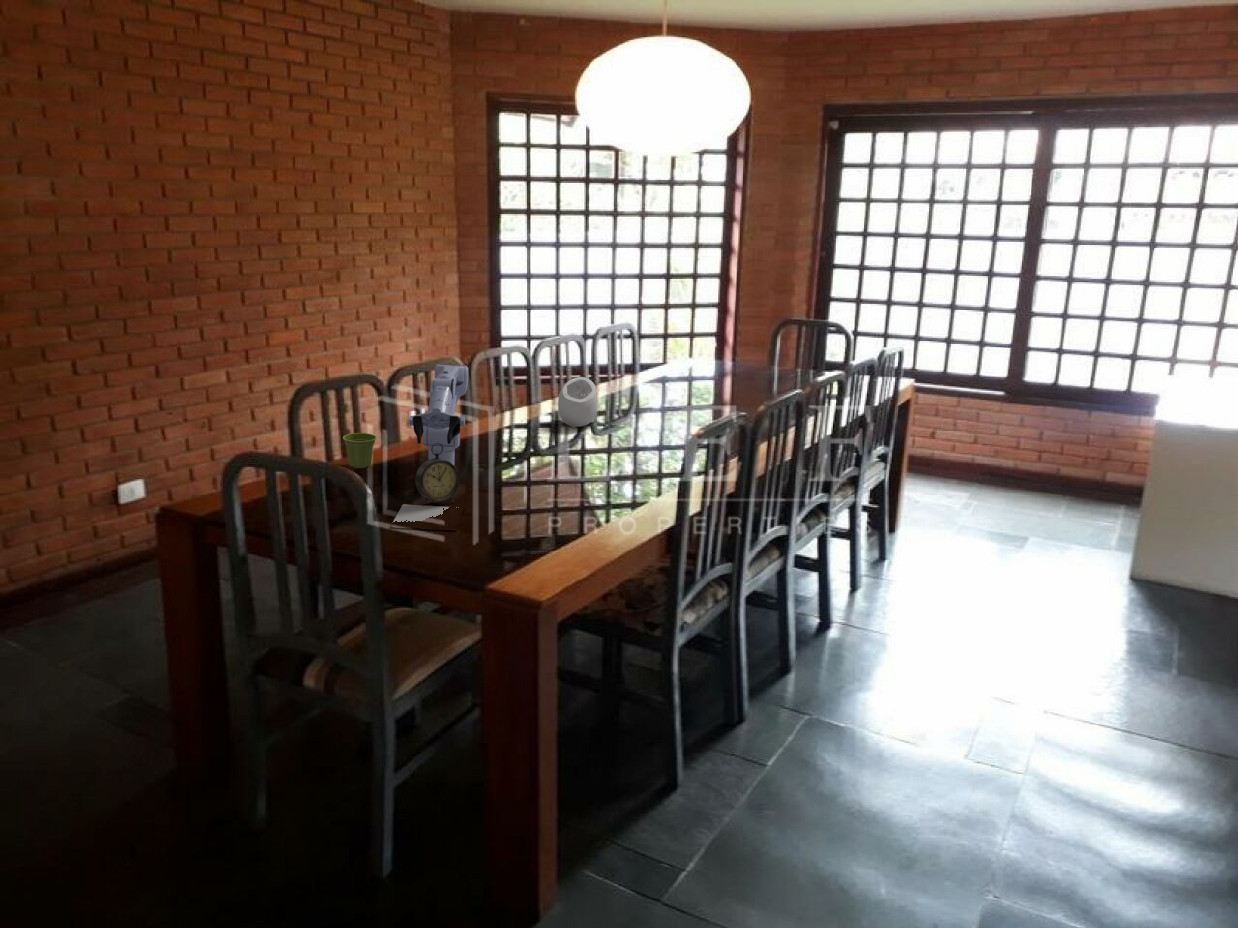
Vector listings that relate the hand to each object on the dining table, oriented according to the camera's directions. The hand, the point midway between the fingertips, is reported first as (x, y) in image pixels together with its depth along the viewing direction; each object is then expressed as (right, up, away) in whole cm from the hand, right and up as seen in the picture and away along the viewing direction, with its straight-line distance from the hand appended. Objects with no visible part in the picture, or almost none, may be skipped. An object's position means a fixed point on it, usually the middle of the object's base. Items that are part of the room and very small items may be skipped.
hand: (433, 440), depth 246 cm
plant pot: (-27, -7, +30) cm, 41 cm away
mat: (0, -20, -8) cm, 21 cm away
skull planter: (+33, +8, +95) cm, 101 cm away
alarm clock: (0, -17, +3) cm, 17 cm away
